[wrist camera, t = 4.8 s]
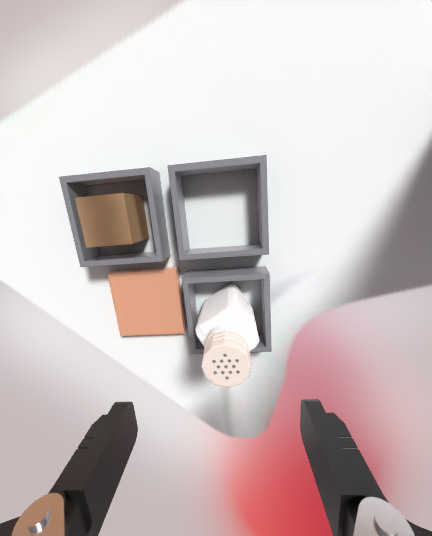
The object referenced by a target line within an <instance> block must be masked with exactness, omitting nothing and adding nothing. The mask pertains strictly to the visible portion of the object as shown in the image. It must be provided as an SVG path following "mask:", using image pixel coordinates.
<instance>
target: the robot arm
mask: <svg viewBox="0 0 432 536" xmlns="http://www.w3.org/2000/svg"><path fill="white" fill-rule="evenodd" d="M300 428H301V435H302V440H303V443H304V446H305V450H306V453H307V456H308V459H309V462H310V465H311V468H312V471H313V474H314V477H315V481H316V483H317V487H318V490H319V493H320V496H321V499H322V502H323V505H324V508H325V512H326V515H327V518H328V520H329V524H330V527H331V530H332V533H333V536H432V531H429V530H426V529H424V528H421V527H419V526H417V525H415V524H413V523H411V522H409V521H408V520H407V519H405V518H404V517H403V515H402V514H401V513H400V512H399V511H398V510H397V509H396V508H395V507H393V506H392V505H391V504H389V502H388V501H387V500H386V498H385V497H384V495H383V494H382V492H381V490H380V488H379V486H378V484H377V482H376V481H375V479H374V477H373V475H372V473H371V471H370V470H369V468H368V466H367V464H366V462H365V460H364V458H363V457H362V455H361V453H360V451H359V450H358V448H357V446H356V444H355V442H354V440H353V439H352V437H351V435H350V433H349V431H348V429H347V427H346V425H345V424H344V423H343V422H342V421H341V420H340V419H339V418H338V417H337V416H336V415H335V414H334V413H326V412H325V410H324V408H323V406H322V404H321V402H320V401H319V400H301V421H300ZM137 431H138V428H137V421H136V416H135V411H134V406H133V403H132V402H115V403H114V405H113V406H112V408H111V409H110V411H109V413H108V414H107V415H102V416H101V417H100V418H99V419H98V420H97V421H96V422H95V423H94V424H92V426H91V428H90V429H89V430H88V432H87V434H86V435H85V438H84V439H83V440H82V442H81V443H80V445H79V446H78V449H77V450H76V451H75V453H74V455H73V456H72V457H71V459H70V461H69V462H68V464H67V465H66V467H65V468H64V470H63V472H62V473H61V475H60V477H59V478H58V480H57V481H56V483H55V484H54V486H53V488H52V489H51V490H50V492H49V493H48V494H47V495H44V496H43V497H41V498H39V499H38V500H36V501H35V502H34V503H32V504H31V505H30V506H29V507H28V508H27V509H26V510H25V511H24V513H23V514H22V515H21V516H20V517H18V518H15V519H12V520H9V521H6V522H4V523H1V524H0V536H98V534H99V532H100V529H101V527H102V524H103V522H104V519H105V517H106V514H107V512H108V509H109V507H110V504H111V502H112V499H113V497H114V494H115V492H116V489H117V487H118V484H119V481H120V479H121V477H122V474H123V472H124V469H125V467H126V464H127V461H128V459H129V456H130V454H131V451H132V449H133V446H134V444H135V441H136V437H137Z"/></svg>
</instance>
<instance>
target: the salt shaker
mask: <svg viewBox="0 0 432 536" xmlns="http://www.w3.org/2000/svg"><path fill="white" fill-rule="evenodd" d="M195 329H196V334H197V337H198V338H199V340H200V341H201V343H202V344H203V346H204V354H203V359H202V365H201V367H202V370H203V372H204V374H205V377H206V378H207V379H209V380H210V381H211V382H213V383H214V384H215V385H219V386H224V387H231V386H235V385H239V384H241V383H242V382H243V381H244V380H245V379H246V378H247V377H248V376H249V373H250V369H251V358H250V351H251V350H252V349H254V348H255V347H256V346H257V344H258V343H259V337H258V332H257V327H256V322H255V317H254V313H253V308H252V307H251V305H250V304H249V302H248V301H247V300H246V298H245V297H244V295H243V294H242V292H241V291H240V290H239V288H238V287H237V286H236V285H234V284H229V285H227V286H226V287H224V288H223V289H221V290H219V291H218V292H216V293H215V294H213V295H212V296H210V297H208V298H207V299H206V300H205V301H204V302H203V305H202V309H201V312H200V315H199V319H198V322H197V325H196V328H195Z"/></svg>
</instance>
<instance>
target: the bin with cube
mask: <svg viewBox="0 0 432 536" xmlns="http://www.w3.org/2000/svg"><path fill="white" fill-rule="evenodd" d="M59 179H60V183H61V187H62V191H63V195H64V200H65V204H66V208H67V212H68V216H69V221H70V225H71V229H72V233H73V237H74V242H75V246H76V250H77V254H78V258H79V263H80V267H89V266H103V265H118V264H133V263H148V262H163V261H164V260H166V259H167V258H168V257H170V249H169V242H168V234H167V227H166V220H165V212H164V205H163V197H162V190H161V183H160V175H159V172H158V171H156V170H154V169H152V168H150V167H148V168H139V169H129V170H120V171H110V172H101V173H91V174H82V175H72V176H62V177H59ZM135 180H145V182H146V188H147V195H148V202H149V208H150V215H151V221H152V228H153V235H154V241H155V248H156V252H148V253H134V254H120V255H106V256H100V254H99V250H98V247H89V248H86V244H85V240H84V235H83V231H82V227H81V222H80V218H79V214H78V210H77V205H76V201H75V198H78V197H87V193H86V189H85V186H86V185H96V184H105V183H115V182H125V181H135Z"/></svg>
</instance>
